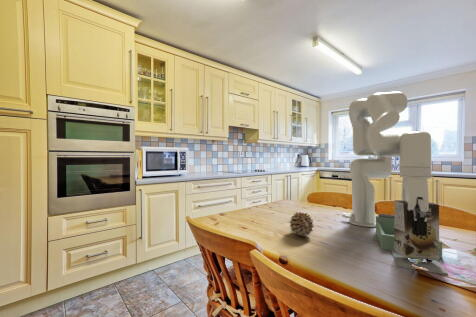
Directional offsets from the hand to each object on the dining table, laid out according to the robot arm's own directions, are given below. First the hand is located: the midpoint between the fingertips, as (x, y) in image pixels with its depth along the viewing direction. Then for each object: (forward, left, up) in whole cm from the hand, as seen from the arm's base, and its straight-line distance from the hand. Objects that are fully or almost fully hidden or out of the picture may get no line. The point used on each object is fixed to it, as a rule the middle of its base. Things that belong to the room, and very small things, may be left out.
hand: (415, 230), depth 67 cm
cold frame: (0, +17, -9) cm, 19 cm away
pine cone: (-37, +12, -10) cm, 40 cm away
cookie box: (0, 0, -8) cm, 8 cm away
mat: (0, 0, -9) cm, 9 cm away
